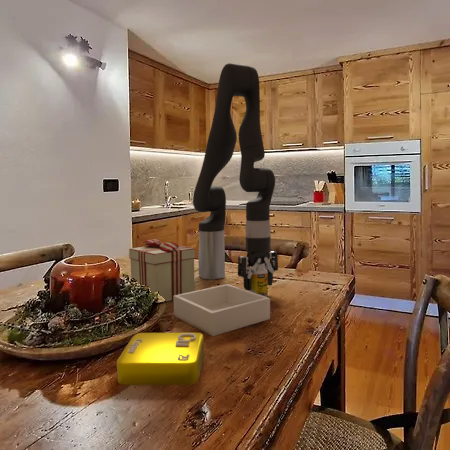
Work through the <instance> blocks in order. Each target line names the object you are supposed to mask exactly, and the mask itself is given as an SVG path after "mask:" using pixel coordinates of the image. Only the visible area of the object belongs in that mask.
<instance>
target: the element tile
mask: <svg viewBox="0 0 450 450" xmlns="http://www.w3.org/2000/svg"><path fill="white" fill-rule="evenodd" d="M204 338H205V337H204V335H203V334H202V333H201V332H139V333H136V334H135V335H133V336H132V337H131V339H130V340H129V341H128V344H126V346H125V347H124V349H123V351H122V352H121V354H120V355H119V356H118V358H117V360H116V376H117V377H116V379H117V383H118V384H120V385H125V386H188V385H189V386H190V385H193V384H196V383H197V382H199V380H200V375H201V371H202V366H203V361H204V358H205V357H204V356H205V339H204Z"/></svg>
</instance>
